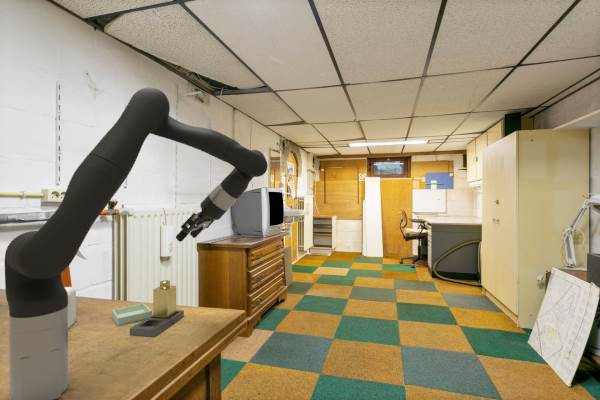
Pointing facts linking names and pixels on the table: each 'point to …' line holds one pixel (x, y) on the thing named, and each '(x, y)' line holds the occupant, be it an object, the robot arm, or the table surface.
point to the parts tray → (131, 314)
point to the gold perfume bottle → (164, 300)
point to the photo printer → (71, 305)
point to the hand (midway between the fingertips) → (185, 237)
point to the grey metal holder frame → (155, 325)
